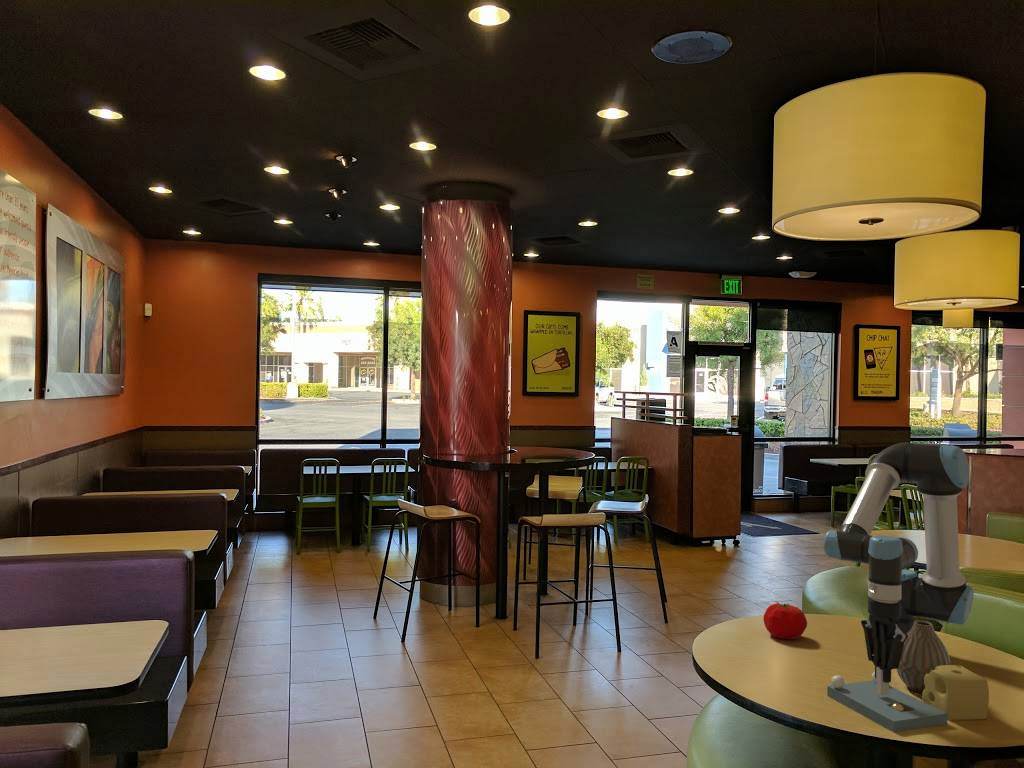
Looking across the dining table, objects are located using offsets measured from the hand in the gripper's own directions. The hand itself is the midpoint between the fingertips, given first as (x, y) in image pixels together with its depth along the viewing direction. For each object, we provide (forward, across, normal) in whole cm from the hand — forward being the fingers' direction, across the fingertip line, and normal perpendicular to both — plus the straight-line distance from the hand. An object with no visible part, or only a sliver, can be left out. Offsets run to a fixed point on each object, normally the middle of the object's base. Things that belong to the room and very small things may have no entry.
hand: (882, 693), depth 196 cm
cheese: (+4, +7, +16) cm, 18 cm away
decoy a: (-1, -8, +6) cm, 10 cm away
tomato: (+4, -53, +12) cm, 54 cm away
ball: (+2, +6, -1) cm, 6 cm away
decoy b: (-1, -8, -7) cm, 10 cm away
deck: (+3, +1, 0) cm, 4 cm away
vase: (+4, -6, +20) cm, 21 cm away
